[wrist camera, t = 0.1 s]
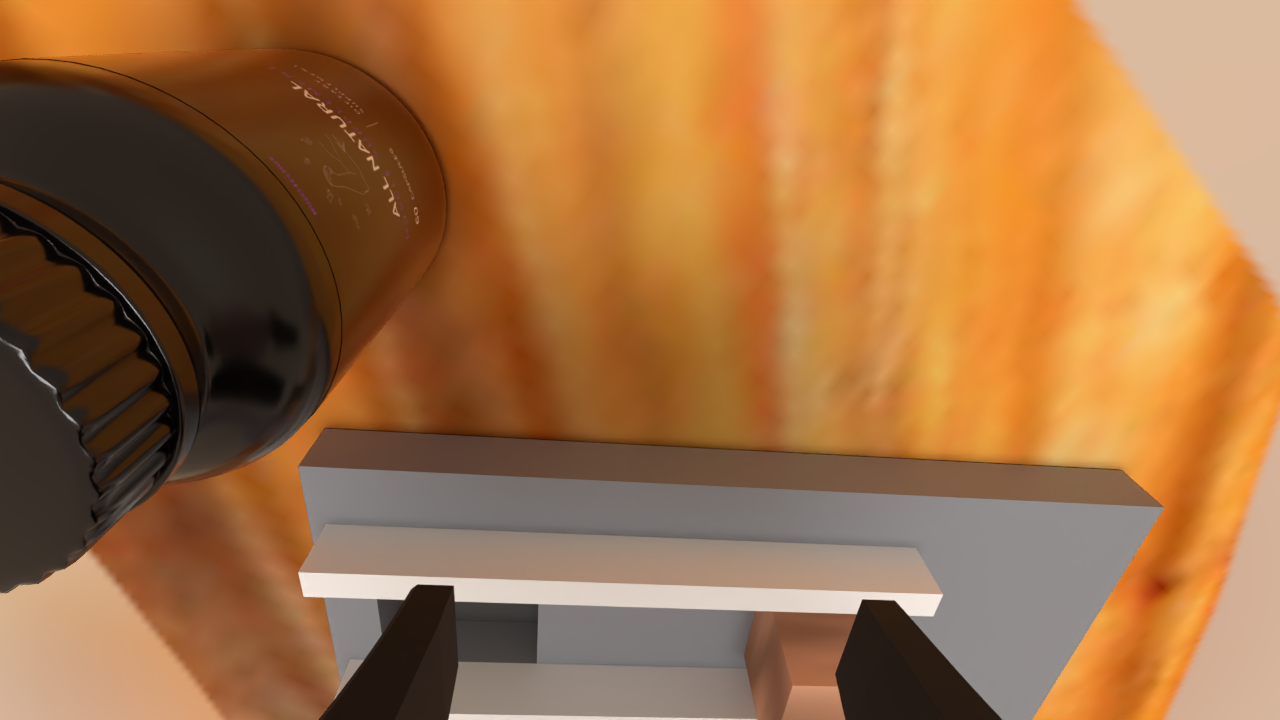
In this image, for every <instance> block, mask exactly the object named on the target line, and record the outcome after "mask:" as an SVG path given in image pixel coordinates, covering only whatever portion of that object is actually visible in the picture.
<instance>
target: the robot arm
mask: <svg viewBox="0 0 1280 720" xmlns="http://www.w3.org/2000/svg"><path fill="white" fill-rule="evenodd" d="M457 671H458V648H457V631H456V613H455V596H454V586H451V585H421V584H417V585H416V586H415V587H413V588H412V589H411V590H410V592H409V593H408V595H407V597H406V598H405V600H404V602H403V603H402V605H401V606H400V608H399V609H398V611H397V612H396V614H395V616H394V617H393V619H392V620H391V622H390V623H389V625H388V626H387V628H386V629H385V631H384V632H383V634H382V635H381V637H380V638H379V639H378V641H377V642H376V644H375V645H374V647H373V648H372V649H371V651H370V652H369V654H368V655H367V657H366V658H365V659H364V661H363V662H362V663H361V665H360V666H359V667H358V669H357V670H356V672H355V673H354V674H353V676H352V677H351V678H350V680H349V681H348V682H347V684H346V685H345V686H344V688H343V689H342V690H341V692H340V693H339V694H338V696H337V697H336V698H335V700H334V701H333V702H332V704H331V705H330V706H329V707H328V709H327V710H326V711H325V713H324V714H323V715H322V716H321V717H320V719H319V720H448V719H449V714H450V709H451V704H452V698H453V693H454V687H455V682H456V676H457ZM835 676H836V681H837V685H838V690H839V694H840V699H841V703H842V708H843V712H844V716H845V720H1002V719H1001V718H1000V717H999V715H998V714H997V713H996V712H995V711H994V710H993V709H992V708H991V707H990V706H989V705H988V704H987V703H986V702H985V700H984V699H983V698H982V697H981V696H980V695H979V694H978V693H977V692H976V691H975V690H974V689H973V687H972V686H971V685H970V684H969V683H968V682H967V681H966V680H965V679H964V678H963V676H962V675H961V674H960V673H959V672H958V671H957V670H956V669H955V667H954V666H953V665H952V664H951V663H950V662H949V661H948V660H947V659H946V657H945V656H944V655H943V654H942V653H941V652H940V651H939V650H938V648H937V647H936V646H935V645H934V644H933V643H932V642H931V640H930V639H929V638H928V637H927V636H926V635H925V634H924V632H923V631H922V630H921V629H920V628H919V627H918V626H917V625H916V623H915V622H914V621H913V620H912V619H911V618H910V617H909V615H908V614H907V613H906V612H905V611H904V610H903V609H902V608H901V607H900V605H899V604H898V603H897V602H896V601H895V600H868V599H862V601H861V604H860V607H859V609H858V612H857V615H856V618H855V620H854V623H853V626H852V629H851V631H850V634H849V637H848V640H847V642H846V645H845V648H844V651H843V653H842V656H841V659H840V662H839V664H838V667H837V670H836V673H835Z"/></svg>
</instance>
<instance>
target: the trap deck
mask: <svg viewBox="0 0 1280 720" xmlns="http://www.w3.org/2000/svg"><path fill="white" fill-rule="evenodd" d="M298 468H299V473H300V478H301V483H302V488H303V493H304V499H305V504H306V509H307V514H308V519H309V524H310V529H311V534H312V539H313V544H315V542H316V540H317V538H318V537H319V535H320V533H321V531H322V530H323V528H324V526H325V524H340V525H365V526H389V527H414V528H439V529H463V530H488V531H513V532H537V533H562V534H587V535H611V536H636V537H661V538H685V539H710V540H735V541H759V542H784V543H809V544H833V545H858V546H883V547H907V548H916V549H917V550H918V552H919V554H920V556H921V557H922V559H923V561H924V562H925V564H926V566H927V568H928V569H929V571H930V573H931V575H932V576H933V578H934V580H935V581H936V583H937V585H938V587H939V588H940V590H941V592H942V593H943V596H942V598H941V600H940V603H939V605H938V607H937V609H936V612H935V614H934V616H909V617H910V618H911V619H912V620H913V621H914V622H915V623H916V625H917V626H918V627H919V628H920V629H921V630H922V631H923V632H924V634H925V635H926V636H927V637H928V638H929V639H930V640H931V642H932V643H933V644H934V645H935V646H936V647H937V648H938V650H939V651H940V652H941V653H942V654H943V655H944V656H945V657H946V659H947V660H948V661H949V662H950V663H951V664H952V665H953V666H954V667H955V669H956V670H957V671H958V672H959V673H960V674H961V675H962V676H963V678H964V679H965V680H966V681H967V682H968V683H969V684H970V685H971V686H972V687H973V689H974V690H975V691H976V692H977V693H978V694H979V695H980V696H981V697H982V698H983V699H984V700H985V702H986V703H987V704H988V705H989V706H990V707H991V708H992V709H993V710H994V711H995V712H996V713H997V714H998V715H999V717H1000V718H1001V719H1002V720H1032V719H1033V717H1034V716H1035V714H1036V713H1037V711H1038V709H1039V708H1040V706H1041V705H1042V703H1043V701H1044V700H1045V698H1046V697H1047V695H1048V693H1049V692H1050V690H1051V688H1052V687H1053V685H1054V684H1055V682H1056V680H1057V679H1058V677H1059V676H1060V674H1061V672H1062V671H1063V669H1064V668H1065V666H1066V664H1067V663H1068V661H1069V660H1070V658H1071V656H1072V655H1073V653H1074V652H1075V650H1076V648H1077V647H1078V645H1079V644H1080V642H1081V640H1082V639H1083V637H1084V636H1085V634H1086V632H1087V631H1088V629H1089V628H1090V626H1091V624H1092V623H1093V621H1094V620H1095V618H1096V616H1097V615H1098V613H1099V612H1100V610H1101V608H1102V607H1103V605H1104V603H1105V602H1106V600H1107V599H1108V597H1109V595H1110V594H1111V592H1112V591H1113V589H1114V587H1115V586H1116V584H1117V583H1118V581H1119V579H1120V578H1121V576H1122V575H1123V573H1124V571H1125V570H1126V568H1127V567H1128V565H1129V563H1130V562H1131V560H1132V559H1133V557H1134V555H1135V554H1136V552H1137V551H1138V549H1139V547H1140V546H1141V544H1142V543H1143V541H1144V539H1145V538H1146V536H1147V535H1148V533H1149V531H1150V530H1151V528H1152V527H1153V525H1154V523H1155V522H1156V520H1157V518H1158V517H1159V515H1160V514H1161V512H1162V510H1163V509H1164V507H1163V506H1162V505H1161V504H1160V503H1159V502H1158V501H1156V500H1155V499H1154V498H1153V497H1152V496H1151V495H1150V494H1148V493H1147V492H1146V491H1145V490H1144V489H1143V488H1142V487H1140V486H1139V485H1138V484H1137V483H1136V482H1135V481H1134V480H1132V479H1131V478H1130V477H1129V476H1128V475H1127V474H1126V473H1124V472H1123V471H1122V470H1108V469H1089V468H1070V467H1051V466H1032V465H1013V464H994V463H975V462H956V461H937V460H917V459H898V458H879V457H860V456H841V455H822V454H803V453H784V452H765V451H746V450H727V449H708V448H689V447H670V446H651V445H632V444H613V443H593V442H574V441H555V440H536V439H517V438H498V437H479V436H460V435H441V434H422V433H403V432H384V431H365V430H346V429H327V428H325V429H324V430H323V431H322V433H321V434H320V436H319V437H318V439H317V440H316V441H315V443H314V444H313V446H312V447H311V449H310V450H309V451H308V453H307V454H306V456H305V457H304V459H303V460H302V461H301V463H300V464H299V466H298ZM324 600H325V605H326V610H327V615H328V620H329V626H330V631H331V636H332V641H333V646H334V651H335V656H336V661H337V666H338V671H339V676H340V681H342V678H343V676H344V673H345V671H346V668H347V666H348V663H349V661H350V659H365V658H366V657H367V655H368V654H369V652H370V651H371V649H372V648H373V647H374V645H375V644H376V642H377V641H378V639H379V638H380V637H381V635H382V634H383V632H384V631H385V629H386V628H387V626H388V625H389V623H390V622H391V620H392V619H393V617H394V616H395V614H396V612H397V611H398V609H399V608H400V606H401V605H402V603H403V602H404V600H391V599H360V598H328V597H324ZM455 613H456V631H457V648H458V662H491V663H533V664H576V665H618V666H660V667H702V668H744V669H747V668H746V663H745V659H744V653H745V649H746V645H747V641H748V637H749V633H750V630H751V626H752V622H753V618H754V614H755V611H742V610H710V609H678V608H647V607H615V606H583V605H551V604H519V603H487V602H455Z"/></svg>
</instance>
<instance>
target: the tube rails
mask: <svg viewBox="0 0 1280 720" xmlns="http://www.w3.org/2000/svg"><path fill="white" fill-rule="evenodd" d="M298 573H299V577H300V582H301V587H302V591H303V596H304V597H328V598H360V599H391V600H405V598H406V597H407V595H408V593H409V592H410V590H411V589H412V588H413V587H415V586H416V585H417V584H421V585H451V586H454V596H455V602H487V603H519V604H551V605H583V606H615V607H647V608H678V609H710V610H742V611H774V612H806V613H838V614H857V612H858V609H859V607H860V604H861V601H862V599H868V600H895V601H896V602H897V603H898V604H899V605H900V607H901V608H902V609H903V610H904V611H905V612H906V613H907V614H908V615H909V616H934V614H935V612H936V609H937V607H938V605H939V603H940V600H941V598H942V596H943V593H942V592H941V590H940V588H939V587H938V585H937V583H936V581H935V580H934V578H933V576H932V575H931V573H930V571H929V569H928V568H927V566H926V564H925V562H924V561H923V559H922V557H921V556H920V554H919V552H918V550H917V549H916V548H907V547H883V546H858V545H833V544H809V543H784V542H759V541H735V540H710V539H685V538H661V537H636V536H611V535H587V534H562V533H537V532H513V531H488V530H463V529H439V528H414V527H389V526H365V525H340V524H325V526H324V528H323V530H322V531H321V533H320V535H319V537H318V538H317V540H316V542H315V544H314V546H313V547H312V549H311V551H310V553H309V554H308V556H307V558H306V560H305V562H304V563H303V565H302V567H301V569H300V570H299V572H298ZM363 661H364V659H350V661H349V663H348V666H347V668H346V671H345V673H344V676H343V678H342V681H341V683H340V686H339V688H338V690H337V693H336V695H335V698H336V697H337V696H338V694H339V693H340V692H341V690H342V689H343V688H344V686H345V685H346V684H347V682H348V681H349V680H350V678H351V677H352V676H353V674H354V673H355V672H356V670H357V669H358V667H359V666H360V665H361V663H362V662H363ZM335 698H334V700H335ZM334 700H333V701H334ZM448 720H757V715H756V711H755V706H754V701H753V696H752V692H751V687H750V682H749V677H748V673H747V669H744V668H702V667H660V666H618V665H576V664H533V663H491V662H458V671H457V676H456V682H455V687H454V693H453V698H452V704H451V709H450V714H449V719H448Z"/></svg>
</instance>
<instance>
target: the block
mask: <svg viewBox="0 0 1280 720" xmlns="http://www.w3.org/2000/svg"><path fill="white" fill-rule="evenodd" d="M856 615H857V614H838V613H806V612H774V611H755V614H754V618H753V622H752V626H751V630H750V633H749V637H748V641H747V645H746V649H745V653H744V659H745V663H746V668H747V673H748V677H749V682H750V687H751V692H752V696H753V701H754V706H755V711H756V715H757V720H845V716H844V712H843V708H842V703H841V699H840V694H839V690H838V685H837V681H836V676H835V673H836V670H837V667H838V664H839V662H840V659H841V656H842V653H843V651H844V648H845V645H846V642H847V640H848V637H849V634H850V631H851V629H852V626H853V623H854V620H855V618H856Z"/></svg>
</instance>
